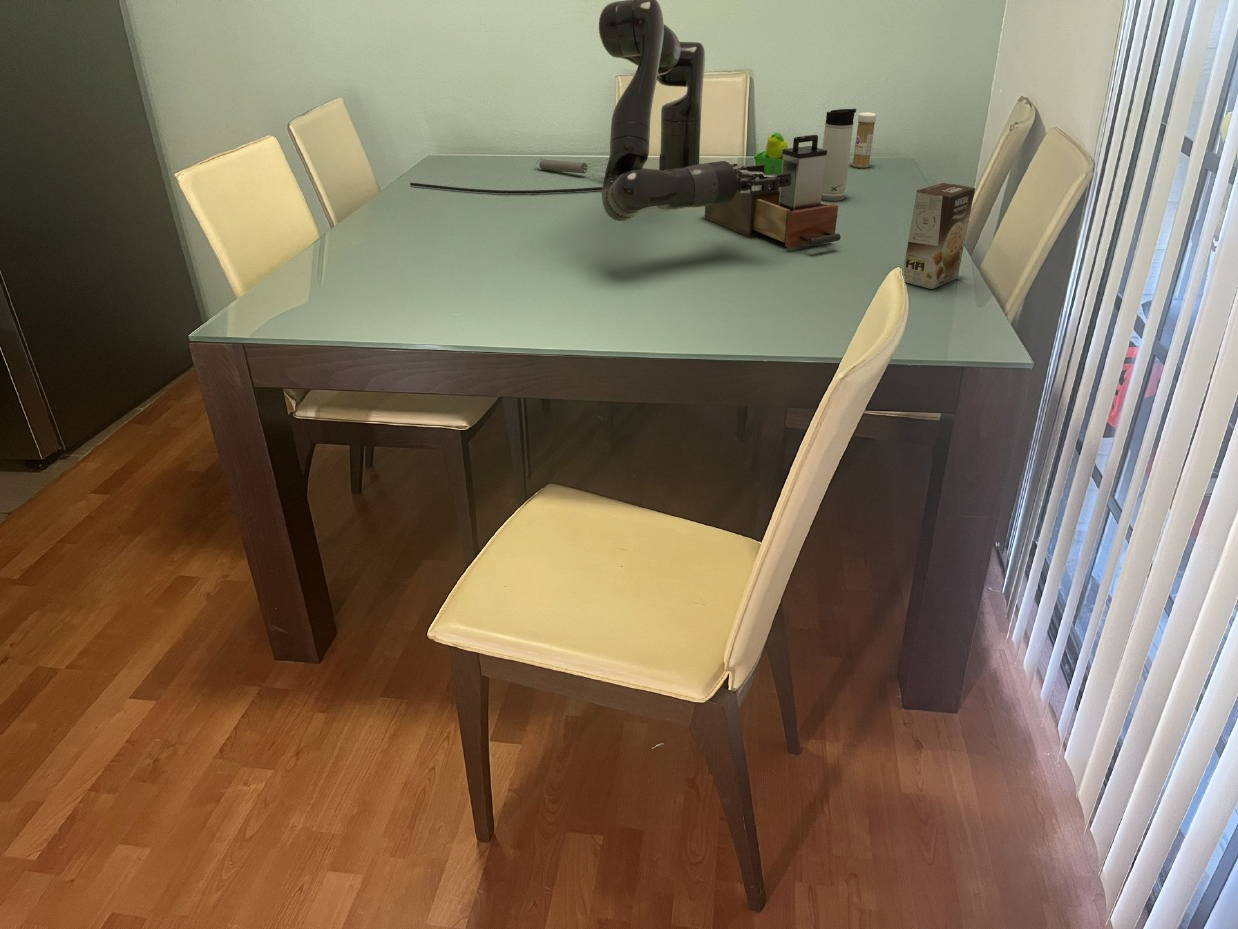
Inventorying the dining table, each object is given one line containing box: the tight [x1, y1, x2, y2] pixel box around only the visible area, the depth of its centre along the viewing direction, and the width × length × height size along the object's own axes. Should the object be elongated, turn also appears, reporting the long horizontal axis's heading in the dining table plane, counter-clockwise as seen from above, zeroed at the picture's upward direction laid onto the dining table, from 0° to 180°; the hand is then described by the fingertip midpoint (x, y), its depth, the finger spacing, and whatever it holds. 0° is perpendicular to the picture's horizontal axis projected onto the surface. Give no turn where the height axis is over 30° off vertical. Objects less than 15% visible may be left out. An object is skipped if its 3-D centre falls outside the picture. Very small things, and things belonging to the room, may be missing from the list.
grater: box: [779, 134, 827, 211], centre depth 176 cm, size 5×7×18 cm
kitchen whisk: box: [535, 158, 609, 182], centre depth 230 cm, size 6×34×6 cm, turn 52°
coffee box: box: [902, 182, 976, 290], centre depth 157 cm, size 9×6×16 cm
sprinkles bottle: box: [851, 112, 877, 169], centre depth 237 cm, size 5×5×14 cm
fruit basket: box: [753, 131, 789, 175], centre depth 228 cm, size 11×9×11 cm
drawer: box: [753, 195, 842, 249], centre depth 180 cm, size 20×11×7 cm, turn 29°
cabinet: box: [704, 177, 780, 238], centre depth 191 cm, size 17×13×9 cm
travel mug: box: [821, 108, 857, 202], centre depth 207 cm, size 6×7×20 cm
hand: (776, 174), depth 172 cm, fingers open, 8 cm apart
